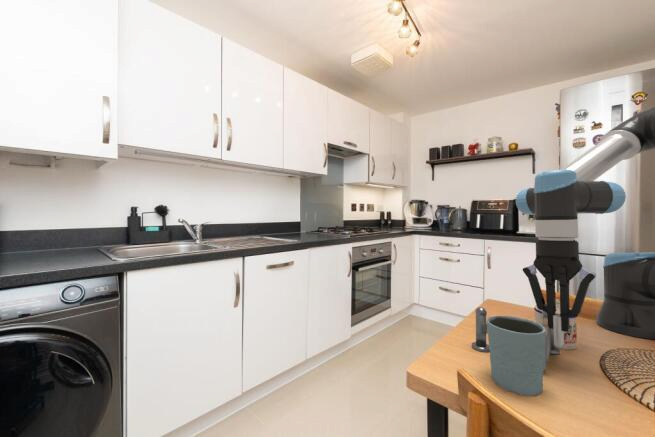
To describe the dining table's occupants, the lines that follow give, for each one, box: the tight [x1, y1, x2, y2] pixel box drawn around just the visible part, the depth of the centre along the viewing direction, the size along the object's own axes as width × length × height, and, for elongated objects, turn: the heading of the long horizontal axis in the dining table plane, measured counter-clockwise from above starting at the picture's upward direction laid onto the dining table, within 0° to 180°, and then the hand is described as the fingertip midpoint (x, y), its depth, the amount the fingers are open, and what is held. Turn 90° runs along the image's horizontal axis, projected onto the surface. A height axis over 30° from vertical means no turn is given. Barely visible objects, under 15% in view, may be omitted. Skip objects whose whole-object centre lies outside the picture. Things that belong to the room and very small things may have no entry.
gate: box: [542, 318, 551, 371], centre depth 64 cm, size 12×1×8 cm, turn 137°
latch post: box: [471, 306, 490, 353], centre depth 72 cm, size 5×4×10 cm
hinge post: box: [542, 311, 561, 356], centre depth 70 cm, size 4×4×10 cm
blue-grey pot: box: [486, 315, 546, 397], centre depth 57 cm, size 10×10×12 cm
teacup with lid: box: [533, 298, 578, 351], centre depth 75 cm, size 12×9×12 cm
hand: (558, 344), depth 62 cm, fingers closed
